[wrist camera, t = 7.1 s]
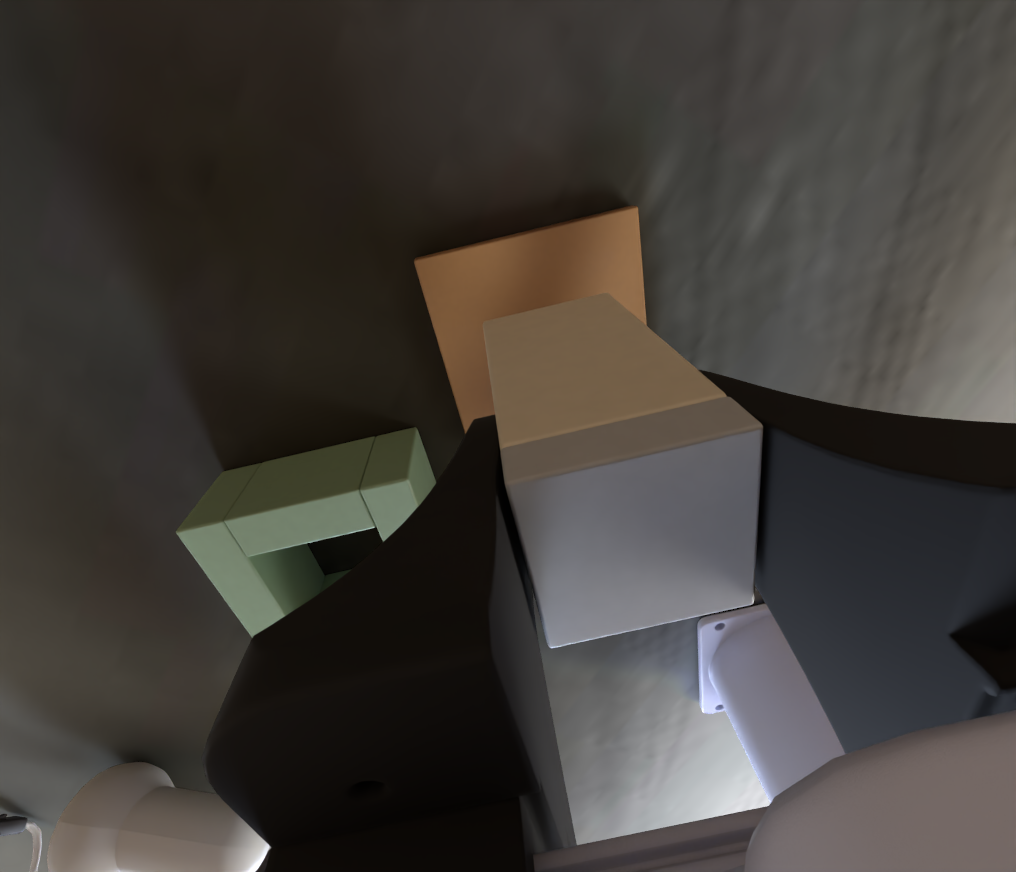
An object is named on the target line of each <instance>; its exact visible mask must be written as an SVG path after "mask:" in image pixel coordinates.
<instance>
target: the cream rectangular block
mask: <svg viewBox="0 0 1016 872" xmlns="http://www.w3.org/2000/svg"><path fill="white" fill-rule="evenodd" d="M483 330H484V338H485V345H486V352H487V359H488V366H489V374H490V381H491V388H492V395H493V402H494V409H495V417H496V424H497V431H498V438H499V445H500V451H501V453H500V454H501V461H502V468H503V475H504V483H505V488H506V491H507V495H508V499H509V503H510V506H511V510H512V514H513V517H514V521H515V525H516V529H517V532H518V536H519V540H520V544H521V547H522V551H523V555H524V559H525V562H526V566H527V570H528V574H529V577H530V581H531V585H532V588H533V592H534V596H535V600H536V603H537V607H538V611H539V615H540V618H541V622H542V626H543V630H544V633H545V637H546V641H547V644H548V646H549V647H550V648H554V647H559V646H564V645H568V644H573V643H577V642H582V641H587V640H591V639H596V638H601V637H605V636H610V635H614V634H619V633H624V632H628V631H633V630H637V629H642V628H647V627H651V626H656V625H661V624H665V623H670V622H674V621H679V620H684V619H688V618H693V617H697V616H702V615H707V614H711V613H716V612H721V611H725V610H730V609H734V608H739V607H744V606H748V605H751V604H753V603H754V589H755V570H756V552H757V534H758V515H759V497H760V479H761V460H762V442H763V426H762V424H761V423H760V422H759V421H758V420H757V419H756V418H754V417H753V416H752V415H751V414H750V413H749V412H747V411H746V410H745V409H744V408H743V407H741V406H740V405H739V404H738V403H737V402H736V401H734V400H733V399H732V398H731V397H727V396H726V394H725V393H724V392H723V391H722V390H721V389H719V388H718V387H717V386H716V385H715V384H714V383H712V382H711V381H710V380H709V379H708V378H707V377H705V376H704V375H703V374H702V373H701V372H700V371H698V370H697V369H696V368H695V367H694V366H693V365H691V364H690V363H689V362H688V361H687V360H686V359H684V358H683V357H682V356H681V355H680V354H679V353H677V352H676V351H675V350H674V349H673V348H672V347H670V346H669V345H668V344H667V343H666V342H665V341H663V340H662V339H661V338H660V337H659V336H658V335H656V334H655V333H654V332H653V331H652V330H651V329H649V328H648V327H647V326H646V325H645V324H644V323H642V322H641V321H640V320H639V319H638V318H637V317H635V316H634V315H633V314H632V313H631V312H630V311H628V310H627V309H626V308H625V307H624V306H623V305H621V304H620V303H619V302H618V301H617V300H616V299H614V298H613V297H612V296H611V295H610V294H609V293H602V294H598V295H594V296H589V297H585V298H581V299H577V300H573V301H568V302H564V303H560V304H556V305H552V306H547V307H543V308H539V309H535V310H531V311H526V312H522V313H518V314H514V315H510V316H505V317H501V318H497V319H493V320H489V321H485V322H484V323H483Z"/></svg>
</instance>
